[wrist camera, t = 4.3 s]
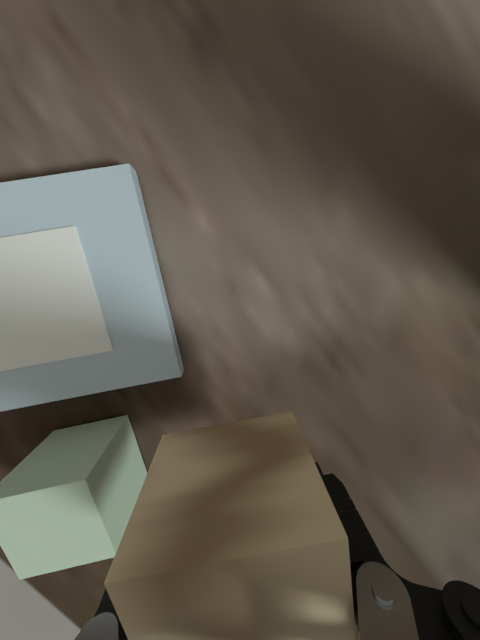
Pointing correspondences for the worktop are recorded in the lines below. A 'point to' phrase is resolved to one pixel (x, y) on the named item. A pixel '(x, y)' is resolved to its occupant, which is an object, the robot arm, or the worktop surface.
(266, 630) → the maple block
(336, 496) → the robot arm
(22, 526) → the sage block
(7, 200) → the board
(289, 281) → the worktop surface
